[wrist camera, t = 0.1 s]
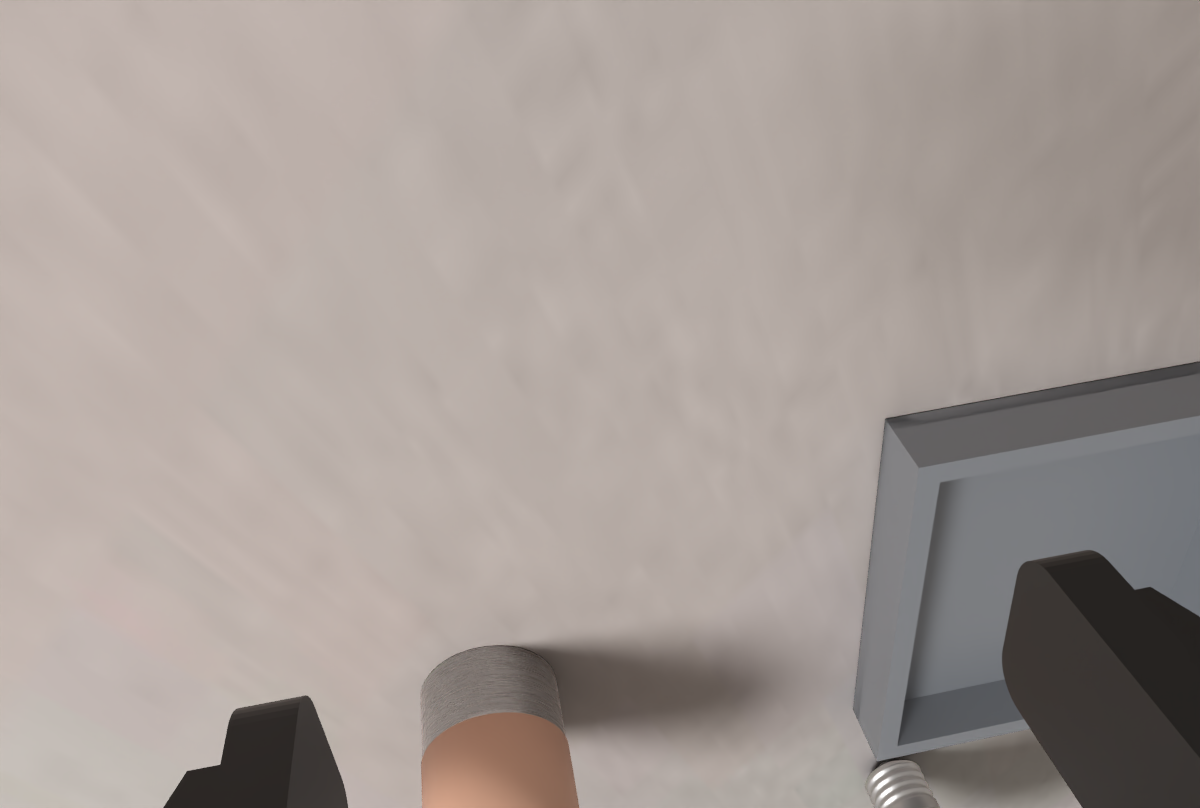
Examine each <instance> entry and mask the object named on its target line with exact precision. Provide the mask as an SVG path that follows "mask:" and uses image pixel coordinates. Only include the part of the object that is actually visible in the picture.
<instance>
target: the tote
mask: <svg viewBox="0 0 1200 808" xmlns="http://www.w3.org/2000/svg"><path fill="white" fill-rule="evenodd" d="M1084 550H1093V551H1096V552H1098V553H1100V554H1101V555H1102V556H1104V557H1105V558H1106V559H1107V560H1108V561H1109V562H1110V563H1111V564H1112V565H1113V566H1114V568H1115V569H1116V570H1117V571H1118V572H1119V573H1120V574H1121V575H1122V576H1123V577H1124V579H1125V580H1126V581H1127V582H1128V583H1129V584H1130V585H1131V586H1132V587H1133V589H1134V590H1136V589H1141V588H1146V587H1152V588H1153V589H1155V590H1157V591H1158V592H1160V593H1162V594H1163V595H1165V596H1167V597H1168V598H1170V599H1172V600H1173V601H1175V602H1177V603H1178V604H1180V605H1181V606H1183V607H1185V608H1186V609H1188V610H1190V611H1191V612H1193V613H1195V614H1196V615H1198V616H1199V617H1200V362H1197V363H1192V364H1186V365H1181V366H1175V367H1170V368H1164V369H1159V370H1153V371H1148V372H1142V373H1137V374H1131V375H1126V376H1120V377H1115V378H1109V379H1104V380H1098V381H1093V382H1087V383H1082V384H1076V385H1071V386H1065V387H1060V388H1054V389H1049V390H1043V391H1038V392H1032V393H1027V394H1021V395H1016V396H1010V397H1005V398H999V399H994V400H988V401H983V402H977V403H972V404H966V405H961V406H955V407H950V408H944V409H939V410H933V411H928V412H922V413H917V414H911V415H906V416H900V417H895V418H889V419H885V427H884V436H883V445H882V454H881V462H880V471H879V480H878V489H877V498H876V507H875V516H874V525H873V534H872V543H871V552H870V561H869V570H868V579H867V588H866V597H865V606H864V615H863V624H862V633H861V642H860V651H859V660H858V669H857V678H856V687H855V696H854V705H853V710H854V713H855V715H856V717H857V719H858V721H859V723H860V726H861V728H862V730H863V732H864V734H865V737H866V739H867V741H868V743H869V745H870V748H871V750H872V752H873V754H874V756H875V758H876V761H882V760H886V759H891V758H896V757H900V756H905V755H910V754H914V753H919V752H924V751H928V750H933V749H938V748H942V747H947V746H952V745H957V744H961V743H966V742H971V741H975V740H980V739H985V738H989V737H994V736H999V735H1003V734H1008V733H1013V732H1017V731H1022V730H1027V729H1030V727H1029V726H1028V724H1027V723H1026V721H1025V720H1024V718H1023V717H1022V715H1021V714H1020V712H1019V711H1018V709H1017V707H1016V706H1015V704H1014V702H1013V700H1012V698H1011V696H1010V693H1009V691H1008V688H1007V685H1006V682H1005V678H1004V673H1003V668H1002V650H1003V645H1004V640H1005V635H1006V630H1007V624H1008V619H1009V614H1010V609H1011V604H1012V599H1013V594H1014V588H1015V583H1016V578H1017V574H1018V570H1019V568H1020V566H1021V565H1022V564H1023V563H1025V562H1027V561H1031V560H1037V559H1042V558H1047V557H1052V556H1058V555H1063V554H1068V553H1074V552H1079V551H1084Z"/></svg>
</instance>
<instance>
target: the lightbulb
mask: <svg viewBox="0 0 1200 808" xmlns="http://www.w3.org/2000/svg"><path fill="white" fill-rule="evenodd" d="M865 788H866V790H867V793H868V795H869V796H870V799H871V802H872V804H873V805H874V808H940V806H939V804H938V803H937V801H936V799H935V798H934V797H933V793H932V791H931V790H930V789H929V785H928V783H927V782H926V781H925V777H924V775H923V774H922V773H921V769H920V767H919V765H918V764H917V763H915V762H912V761H909V760H888V761H885V762H883V763H881V764H880V765H879V766H878V767H877V768H876V769H875V770H874V771H873V772H872V773H871V774H870V775H869V776H868V778H867V780H866V782H865Z"/></svg>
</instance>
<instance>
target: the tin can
mask: <svg viewBox="0 0 1200 808" xmlns="http://www.w3.org/2000/svg"><path fill="white" fill-rule="evenodd" d="M421 725H422V762H421V775H422V808H579V804H578V798H577V792H576V786H575V780H574V774H573V768H572V762H571V756H570V751H569V745H568V741H567V738H566V735H565V729H564V723H563V717H562V711H561V705H560V699H559V693H558V687H557V682H556V677H555V673H554V671H553V669H552V667H551V666H550V665H549V664H548V662H546V661H545V660H544V659H543V658H542V657H540V656H538V655H537V654H535V653H533V652H531V651H528V650H525V649H521V648H517V647H510V646H486V647H480V648H475V649H471V650H467V651H464V652H462V653H459V654H457V655H455V656H452V657H451V658H449V659H447V660H445V661H444V662H442V663H441V664H440V665H438V666H437V667H436V668H435V669H434V670H433V671H432V672H431V673H430V674H429V675H428V677H427V678H426V680H425V682H424V684H423V686H422V690H421Z"/></svg>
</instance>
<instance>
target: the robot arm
mask: <svg viewBox="0 0 1200 808" xmlns="http://www.w3.org/2000/svg"><path fill="white" fill-rule="evenodd" d="M1002 668H1003V673H1004V678H1005V682H1006V685H1007V688H1008V691H1009V693H1010V696H1011V698H1012V700H1013V702H1014V704H1015V706H1016V707H1017V709H1018V711H1019V712H1020V714H1021V715H1022V717H1023V718H1024V720H1025V721H1026V723H1027V724H1028V726H1029V727H1030V729H1031V730H1032V732H1033V733H1034V735H1035V736H1036V738H1037V739H1038V741H1039V743H1040V744H1041V746H1042V747H1043V749H1044V750H1045V752H1046V753H1047V755H1048V756H1049V758H1050V759H1051V761H1052V762H1053V764H1054V765H1055V767H1056V768H1057V770H1058V771H1059V773H1060V774H1061V776H1062V777H1063V779H1064V780H1065V782H1066V783H1067V785H1068V786H1069V788H1070V789H1071V791H1072V792H1073V794H1074V795H1075V797H1076V798H1077V800H1078V801H1079V803H1080V804H1081V806H1082V807H1083V808H1200V617H1199V616H1198V615H1196V614H1195V613H1193V612H1191V611H1190V610H1188V609H1186V608H1185V607H1183V606H1181V605H1180V604H1178V603H1177V602H1175V601H1173V600H1172V599H1170V598H1168V597H1167V596H1165V595H1163V594H1162V593H1160V592H1158V591H1157V590H1155V589H1153V588H1152V587H1146V588H1141V589H1136V590H1134V589H1133V587H1132V586H1131V585H1130V584H1129V583H1128V582H1127V581H1126V580H1125V579H1124V577H1123V576H1122V575H1121V574H1120V573H1119V572H1118V571H1117V570H1116V569H1115V568H1114V566H1113V565H1112V564H1111V563H1110V562H1109V561H1108V560H1107V559H1106V558H1105V557H1104V556H1102V555H1101V554H1100V553H1098V552H1096V551H1093V550H1084V551H1079V552H1074V553H1068V554H1063V555H1058V556H1052V557H1047V558H1042V559H1037V560H1031V561H1027V562H1025V563H1023V564H1022V565H1021V566H1020V568H1019V570H1018V574H1017V578H1016V583H1015V588H1014V594H1013V599H1012V604H1011V609H1010V614H1009V619H1008V624H1007V630H1006V635H1005V640H1004V645H1003V650H1002ZM164 808H348V804H347V797H346V792H345V788H344V784H343V781H342V778H341V775H340V773H339V770H338V767H337V765H336V762H335V759H334V757H333V754H332V752H331V749H330V746H329V744H328V741H327V738H326V736H325V733H324V730H323V728H322V725H321V722H320V720H319V717H318V715H317V712H316V709H315V707H314V704H313V702H312V701H311V699H310V698H309V697H308V696H301V697H296V698H291V699H285V700H280V701H275V702H269V703H264V704H259V705H254V706H248V707H243V708H238V709H236V710H235V711H234V712H233V713H232V715H231V718H230V720H229V724H228V729H227V734H226V739H225V744H224V749H223V755H222V760H221V765H217V766H212V767H207V768H201V769H196V770H191V771H187V772H186V774H185V775H184V777H183V778H182V780H181V781H180V783H179V784H178V786H177V788H176V789H175V791H174V792H173V794H172V795H171V797H170V798H169V800H168V801H167V803H166V804H165V806H164Z"/></svg>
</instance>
